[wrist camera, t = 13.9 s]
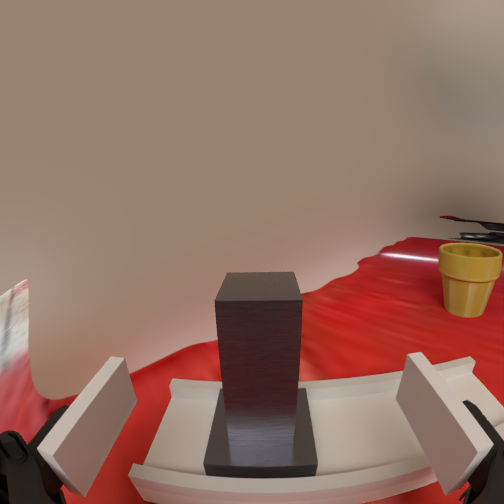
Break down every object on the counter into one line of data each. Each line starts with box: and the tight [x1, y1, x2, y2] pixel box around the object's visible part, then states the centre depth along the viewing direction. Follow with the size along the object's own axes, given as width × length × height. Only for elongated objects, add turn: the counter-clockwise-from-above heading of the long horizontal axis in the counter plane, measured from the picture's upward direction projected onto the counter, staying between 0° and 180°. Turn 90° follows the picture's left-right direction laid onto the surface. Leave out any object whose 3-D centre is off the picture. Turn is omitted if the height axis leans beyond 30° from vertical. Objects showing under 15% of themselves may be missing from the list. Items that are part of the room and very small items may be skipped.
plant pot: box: [438, 243, 502, 317], centre depth 33 cm, size 10×10×10 cm
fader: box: [203, 272, 318, 479], centre depth 15 cm, size 6×7×10 cm
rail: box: [128, 356, 504, 504], centre depth 15 cm, size 26×10×3 cm, turn 87°
